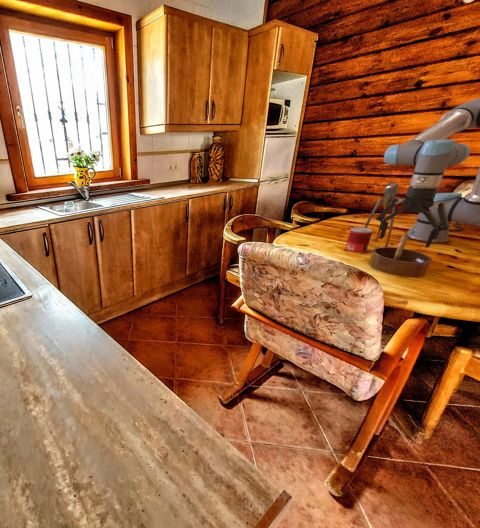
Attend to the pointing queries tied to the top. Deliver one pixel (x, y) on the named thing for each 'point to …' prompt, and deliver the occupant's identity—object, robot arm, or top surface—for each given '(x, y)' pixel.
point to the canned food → (358, 239)
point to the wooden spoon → (400, 247)
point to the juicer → (388, 196)
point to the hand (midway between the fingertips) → (403, 242)
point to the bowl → (400, 262)
